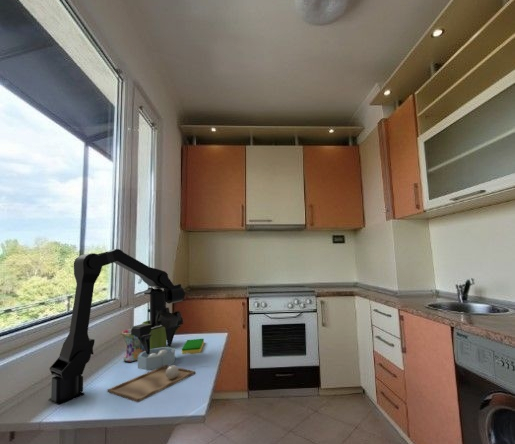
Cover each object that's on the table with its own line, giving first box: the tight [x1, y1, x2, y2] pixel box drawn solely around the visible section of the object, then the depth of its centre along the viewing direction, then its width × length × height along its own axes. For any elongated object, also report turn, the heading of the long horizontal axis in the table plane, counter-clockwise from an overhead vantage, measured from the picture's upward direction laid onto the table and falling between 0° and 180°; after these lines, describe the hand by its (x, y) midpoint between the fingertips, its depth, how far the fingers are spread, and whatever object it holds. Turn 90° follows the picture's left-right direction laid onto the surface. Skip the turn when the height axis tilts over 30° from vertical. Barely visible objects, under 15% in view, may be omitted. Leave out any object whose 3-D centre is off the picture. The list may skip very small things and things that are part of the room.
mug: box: [121, 328, 145, 363], centre depth 111 cm, size 12×9×11 cm
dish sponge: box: [181, 338, 205, 355], centre depth 118 cm, size 7×14×2 cm, turn 5°
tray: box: [107, 365, 196, 403], centre depth 85 cm, size 20×14×1 cm
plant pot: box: [141, 319, 167, 349], centre depth 123 cm, size 12×12×11 cm
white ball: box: [148, 353, 158, 358], centre depth 100 cm, size 4×4×4 cm
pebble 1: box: [158, 350, 168, 356], centre depth 103 cm, size 4×4×4 cm
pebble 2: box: [166, 364, 179, 379], centre depth 86 cm, size 4×4×4 cm
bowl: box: [137, 346, 176, 371], centre depth 102 cm, size 12×12×4 cm
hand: (159, 350), depth 103 cm, fingers open, 9 cm apart
